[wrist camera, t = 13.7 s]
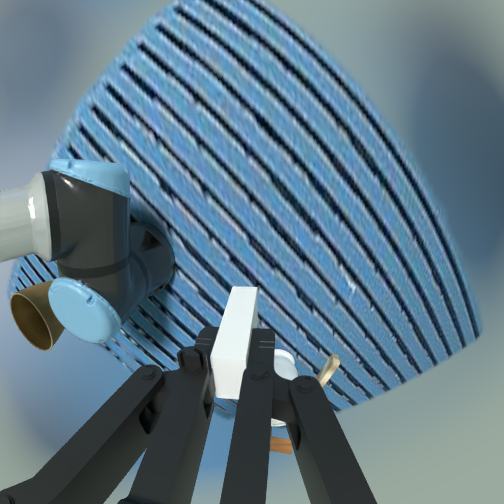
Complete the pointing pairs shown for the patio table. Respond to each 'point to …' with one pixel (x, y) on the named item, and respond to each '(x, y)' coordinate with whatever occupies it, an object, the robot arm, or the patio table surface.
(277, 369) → the jar
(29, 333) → the plant pot
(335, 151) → the patio table surface
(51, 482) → the robot arm
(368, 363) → the patio table surface
